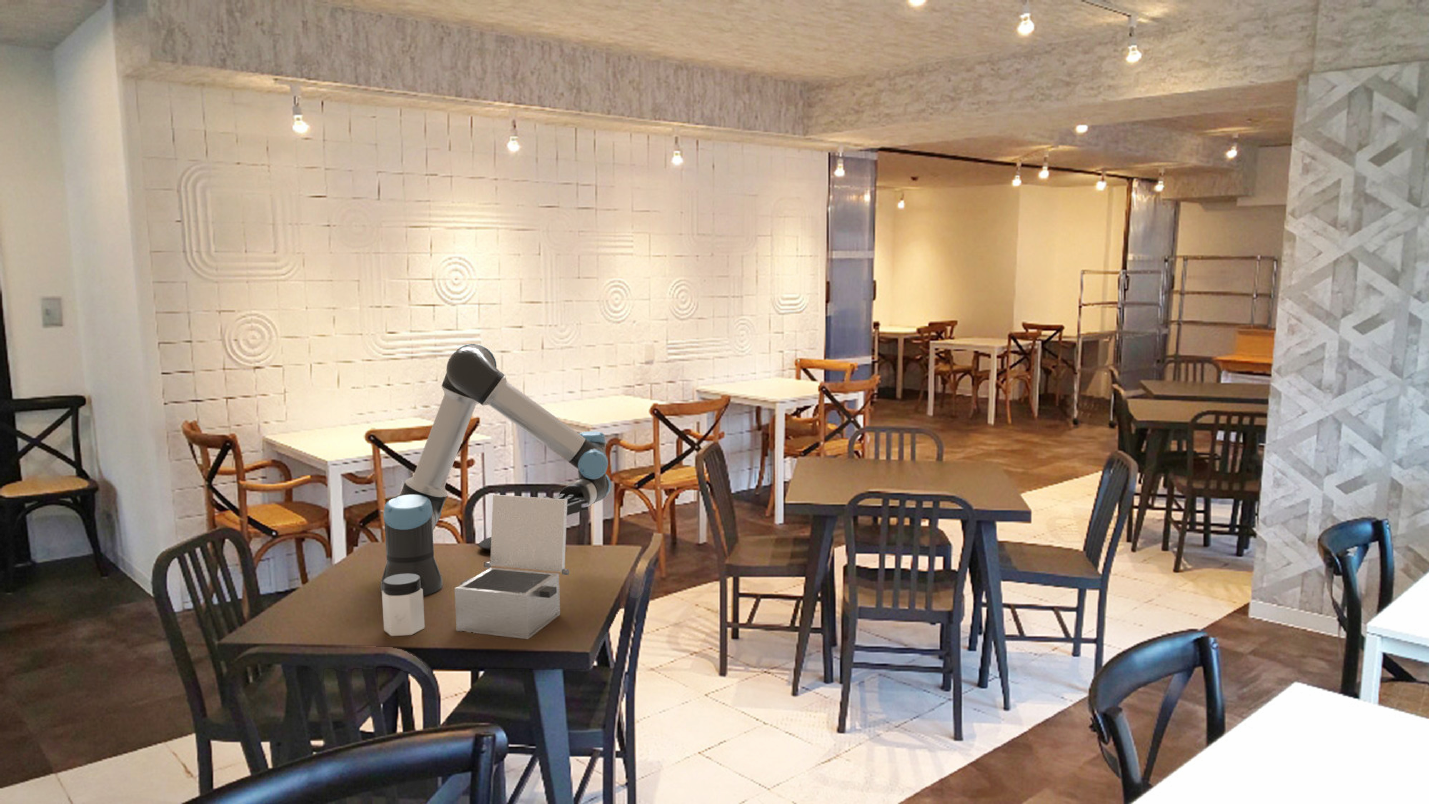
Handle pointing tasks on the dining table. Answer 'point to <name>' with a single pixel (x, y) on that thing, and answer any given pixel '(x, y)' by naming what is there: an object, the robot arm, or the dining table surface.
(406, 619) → the jar
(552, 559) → the lid
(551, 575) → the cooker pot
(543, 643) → the dining table surface
